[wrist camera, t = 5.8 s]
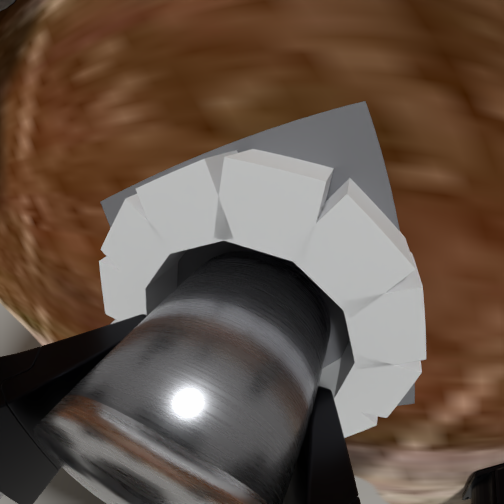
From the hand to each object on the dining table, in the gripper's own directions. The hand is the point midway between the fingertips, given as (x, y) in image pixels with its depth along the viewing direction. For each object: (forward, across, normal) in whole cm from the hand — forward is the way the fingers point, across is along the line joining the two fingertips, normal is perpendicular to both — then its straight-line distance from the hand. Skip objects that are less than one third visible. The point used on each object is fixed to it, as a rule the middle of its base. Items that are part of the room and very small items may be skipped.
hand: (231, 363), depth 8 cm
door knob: (+2, 0, 0) cm, 2 cm away
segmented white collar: (+6, 0, 0) cm, 6 cm away
